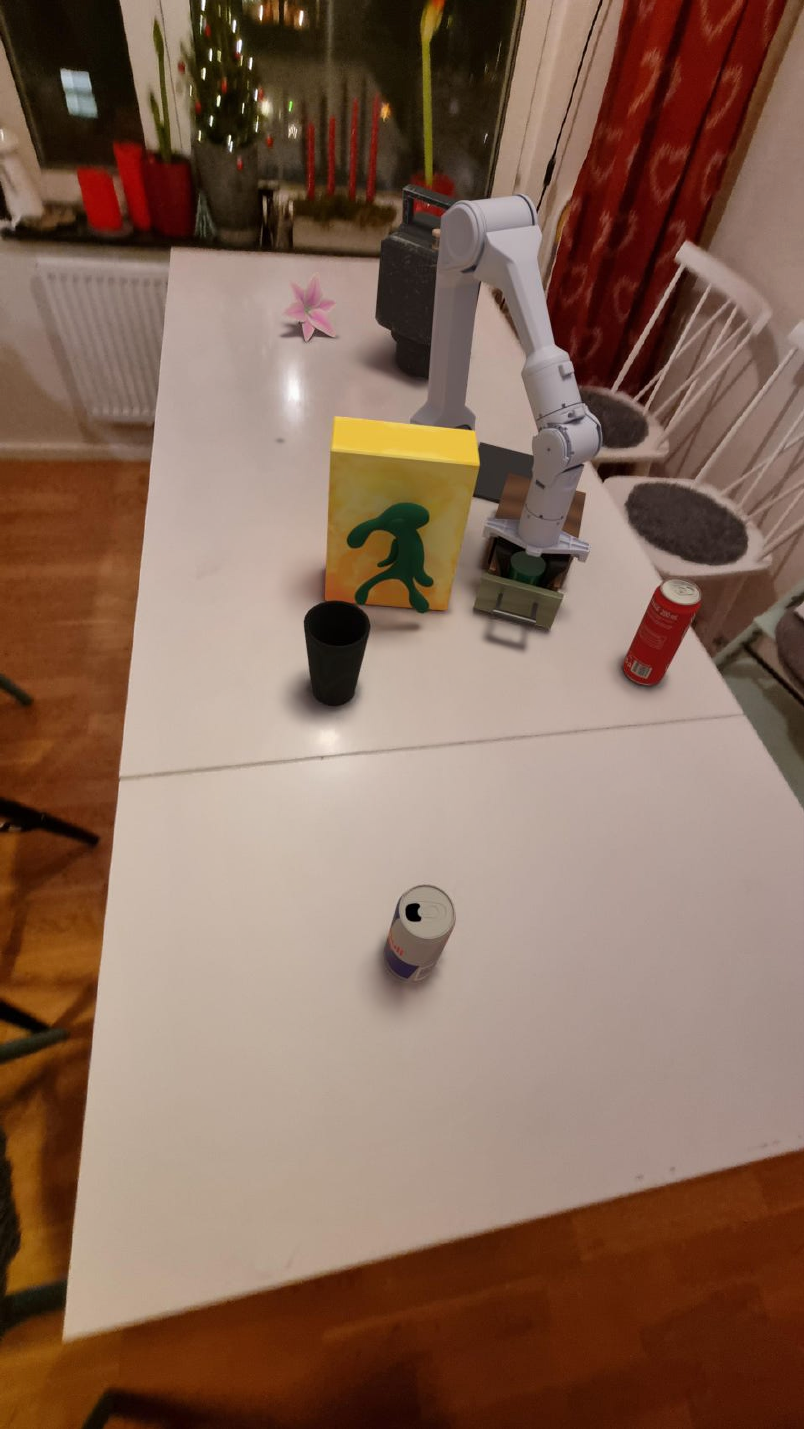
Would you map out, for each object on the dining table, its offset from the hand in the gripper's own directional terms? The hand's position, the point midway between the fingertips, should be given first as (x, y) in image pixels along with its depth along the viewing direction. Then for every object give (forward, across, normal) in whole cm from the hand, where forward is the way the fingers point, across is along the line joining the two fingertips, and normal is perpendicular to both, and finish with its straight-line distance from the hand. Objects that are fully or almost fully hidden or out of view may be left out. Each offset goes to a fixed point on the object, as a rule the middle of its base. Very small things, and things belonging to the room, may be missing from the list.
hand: (521, 585), depth 102 cm
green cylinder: (+1, 0, 0) cm, 1 cm away
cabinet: (+2, 0, +12) cm, 12 cm away
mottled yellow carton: (+3, -18, -8) cm, 20 cm away
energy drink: (+3, -2, -56) cm, 56 cm away
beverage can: (+3, +19, -8) cm, 21 cm away
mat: (+2, -5, +30) cm, 31 cm away
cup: (+3, -20, -26) cm, 33 cm away
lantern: (+2, -30, +61) cm, 68 cm away
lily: (+2, -55, +64) cm, 85 cm away
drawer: (+2, 0, -1) cm, 2 cm away
